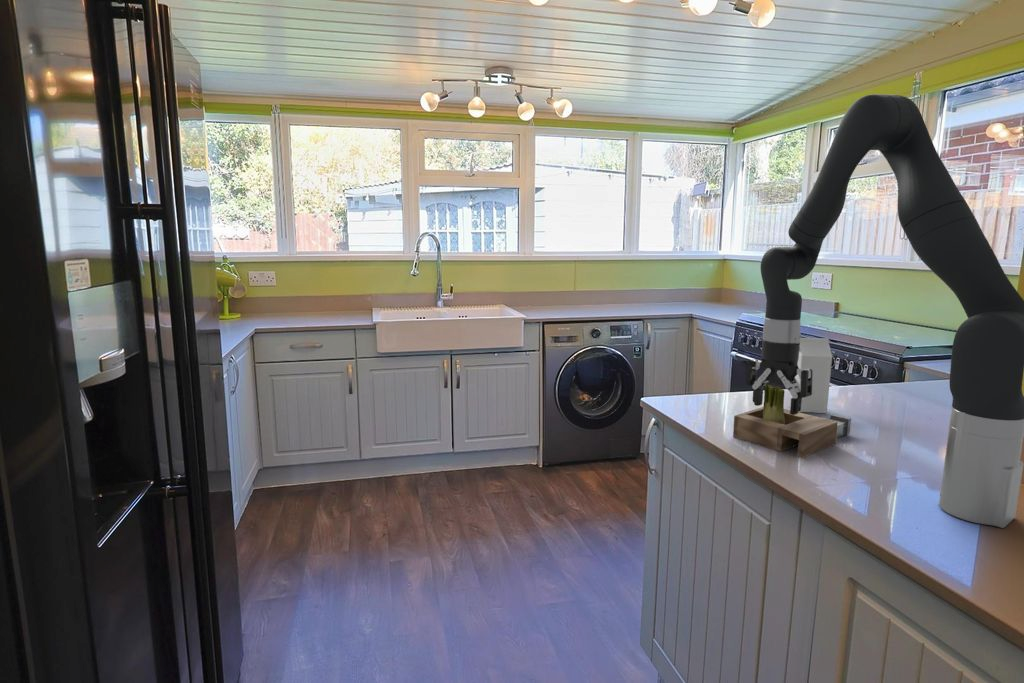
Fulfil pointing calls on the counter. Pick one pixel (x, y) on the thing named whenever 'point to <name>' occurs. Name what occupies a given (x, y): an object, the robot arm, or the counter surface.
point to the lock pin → (841, 425)
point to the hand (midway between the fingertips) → (775, 409)
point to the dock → (786, 431)
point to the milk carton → (815, 372)
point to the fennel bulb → (773, 404)
